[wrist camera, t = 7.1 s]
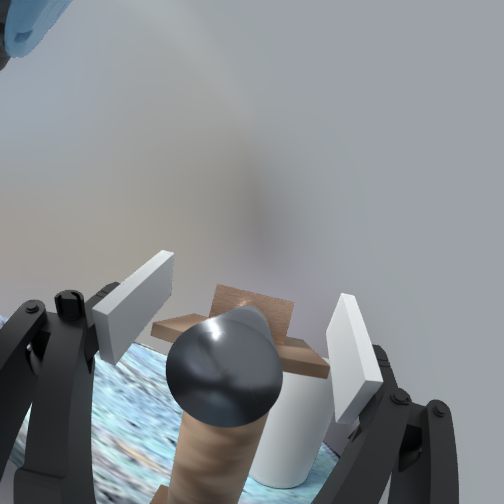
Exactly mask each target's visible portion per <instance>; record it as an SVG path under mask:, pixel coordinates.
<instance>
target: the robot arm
mask: <svg viewBox="0 0 504 504" xmlns="http://www.w3.org/2000/svg"><path fill="white" fill-rule="evenodd" d="M71 2H72V0H0V73H1V72H2V70H3V69H4V67H5V65H6V64H7V62H8V61H9V59H10V58H11V57H12V58H16V57H20V58H21V57H24V56H26V55H28V54H29V53H30V52H31V51H32V50H33V49H34V48H35V47H36V46H37V45H38V44H39V42H40V41H41V40H42V38H43V37H44V35H45V34H46V33H47V31H48V30H49V29H50V28H51V27H52V26H53V25H54V23H55V22H56V21H57V20H58V18H59V17H60V16H61V14H62V13H63V12H64V11H65V9H66V8H67V6H68V5H69V4H70V3H71ZM173 263H174V253H172V252H168V251H163V250H162V251H161V252H159V253H158V254H157V255H155V256H154V257H153V258H152V259H150V260H149V261H148V262H147V263H145V264H144V265H143V266H142V267H141V268H139V269H138V270H137V271H136V272H134V273H133V274H132V275H131V276H130V277H128V278H127V279H126V280H125V281H124V282H122V283H118V282H114V283H111V284H108V285H106V286H105V287H104V288H102V289H101V290H100V291H99V292H97V293H96V295H94V296H93V297H91V298H90V299H89V300H88V301H87V302H85V303H84V297H83V295H82V293H80V292H78V291H75V290H65V291H62V292H60V293H58V294H57V295H56V296H55V297H54V298H55V304H56V309H57V313H51V312H47V311H46V309H45V305H44V303H43V302H42V301H40V300H29V301H27V302H25V303H23V304H22V305H21V306H20V307H19V308H18V310H17V311H16V312H15V313H14V314H13V315H12V316H11V317H10V319H9V320H8V321H7V322H6V323H5V324H4V326H3V327H2V328H1V329H0V482H1V479H2V477H3V473H4V470H5V467H6V464H7V461H8V458H9V456H10V453H11V450H12V448H13V445H14V442H15V440H16V437H17V435H18V432H19V430H20V428H21V425H22V423H23V421H24V418H25V416H26V414H27V412H28V410H29V408H30V405H31V403H32V407H31V413H30V419H29V425H28V432H27V440H26V449H25V461H24V465H23V467H21V468H18V469H17V470H16V471H15V474H14V481H13V502H14V504H97V503H96V500H95V495H94V485H93V473H92V455H91V412H92V393H93V380H94V369H95V357H94V355H95V354H96V352H97V351H98V350H99V353H100V357H101V359H102V360H104V361H106V362H108V363H110V364H113V365H116V364H117V362H118V361H119V360H120V358H121V357H122V356H123V355H124V353H125V352H126V351H127V349H128V348H129V347H130V346H131V344H132V343H133V342H134V340H135V339H136V338H137V336H138V335H139V334H140V333H141V332H142V330H143V329H144V328H145V327H146V325H147V324H148V323H149V322H150V320H151V319H152V318H153V317H154V315H155V314H156V313H157V312H158V310H159V309H160V308H161V307H162V305H163V304H164V303H165V302H166V301H167V299H168V298H169V297H170V296H171V291H172V290H171V289H172V275H173ZM326 337H327V344H328V351H329V360H330V368H331V376H332V385H333V395H334V405H335V417H336V423H346V424H353V422H354V421H355V420H356V419H357V417H358V416H359V421H360V424H359V426H358V427H357V428H356V429H355V430H354V432H353V433H352V434H351V435H350V436H349V437H348V438H349V439H350V438H351V439H350V441H349V443H348V445H347V446H346V448H345V450H344V452H343V454H342V455H341V457H340V459H339V461H338V462H337V464H336V466H335V468H334V469H333V471H332V472H331V474H330V476H329V477H328V479H327V481H326V482H325V484H324V485H323V487H322V488H321V490H320V491H319V493H318V494H317V496H316V497H315V499H314V500H313V501H312V503H311V504H378V503H379V501H380V499H381V497H382V494H383V492H384V490H385V487H386V485H387V482H388V480H389V477H390V474H391V472H392V475H391V483H390V490H389V497H388V504H459V481H458V464H457V453H456V444H455V436H454V429H453V423H452V417H451V412H450V409H449V407H448V406H447V405H446V404H445V403H444V402H442V401H440V400H431V401H430V402H429V403H428V404H427V405H426V406H422V405H419V404H415V403H413V402H412V400H411V398H410V395H409V394H408V393H407V392H406V391H404V390H403V389H401V388H398V386H397V383H396V380H395V377H394V374H393V371H392V369H391V368H390V367H391V366H390V363H389V362H388V358H387V355H386V353H385V351H384V350H383V349H382V348H381V347H380V346H379V345H372V344H371V341H370V338H369V336H368V332H367V330H366V327H365V324H364V321H363V318H362V316H361V313H360V310H359V307H358V305H357V302H356V300H355V297H354V296H353V295H348V294H344V293H341V296H340V299H339V301H338V304H337V306H336V309H335V311H334V314H333V316H332V319H331V322H330V324H329V326H328V329H327V331H326ZM29 343H30V347H29V348H28V349H27V346H28V344H29ZM32 401H33V402H32Z"/></svg>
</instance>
